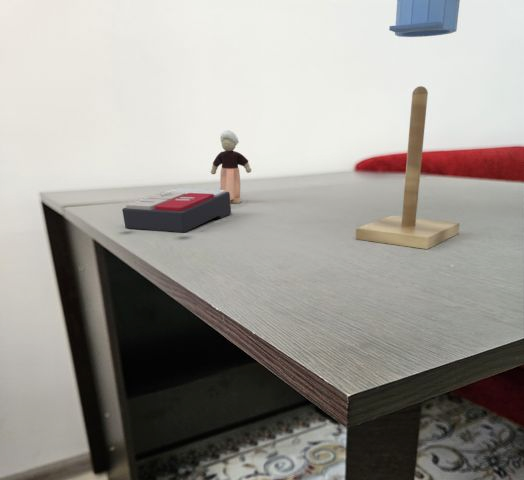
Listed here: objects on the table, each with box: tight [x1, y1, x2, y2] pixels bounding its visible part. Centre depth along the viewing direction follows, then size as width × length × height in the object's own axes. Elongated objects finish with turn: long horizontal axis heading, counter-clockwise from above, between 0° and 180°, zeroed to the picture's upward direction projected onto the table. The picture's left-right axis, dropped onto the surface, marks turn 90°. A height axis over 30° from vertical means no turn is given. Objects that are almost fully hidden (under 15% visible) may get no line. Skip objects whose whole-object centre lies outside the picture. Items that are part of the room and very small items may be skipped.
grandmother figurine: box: [210, 129, 252, 204], centre depth 97 cm, size 8×4×13 cm, turn 90°
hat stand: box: [355, 85, 461, 250], centre depth 66 cm, size 10×10×18 cm
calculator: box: [121, 187, 232, 233], centre depth 83 cm, size 11×4×15 cm
